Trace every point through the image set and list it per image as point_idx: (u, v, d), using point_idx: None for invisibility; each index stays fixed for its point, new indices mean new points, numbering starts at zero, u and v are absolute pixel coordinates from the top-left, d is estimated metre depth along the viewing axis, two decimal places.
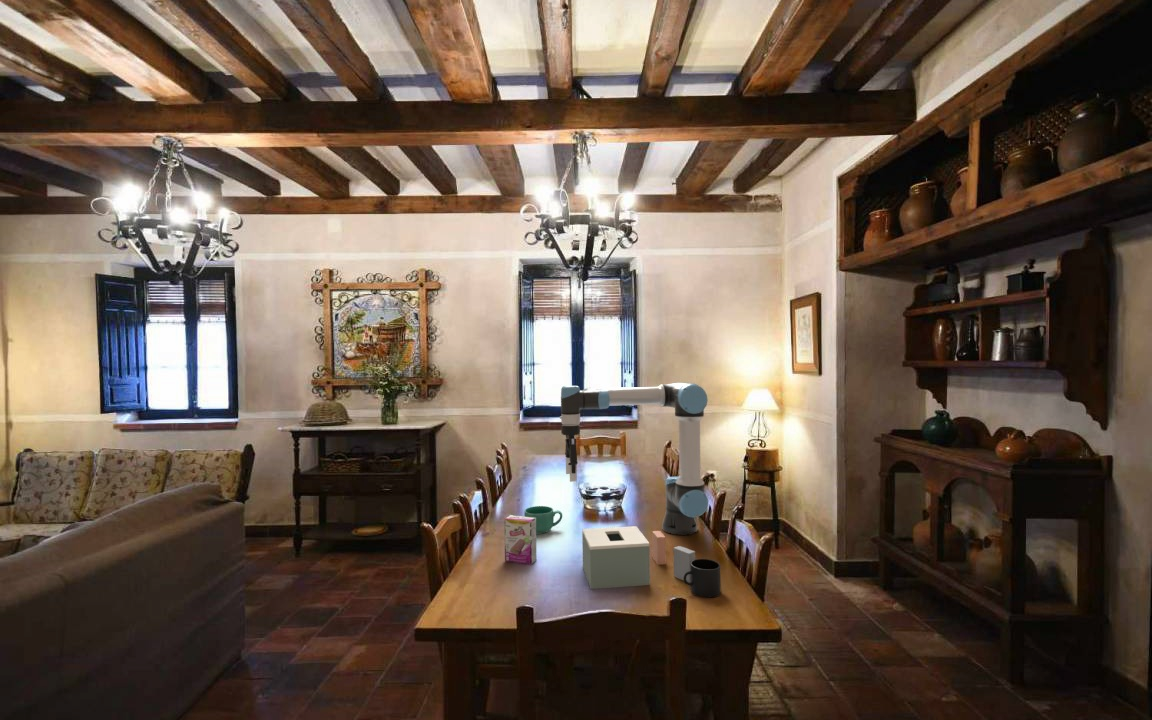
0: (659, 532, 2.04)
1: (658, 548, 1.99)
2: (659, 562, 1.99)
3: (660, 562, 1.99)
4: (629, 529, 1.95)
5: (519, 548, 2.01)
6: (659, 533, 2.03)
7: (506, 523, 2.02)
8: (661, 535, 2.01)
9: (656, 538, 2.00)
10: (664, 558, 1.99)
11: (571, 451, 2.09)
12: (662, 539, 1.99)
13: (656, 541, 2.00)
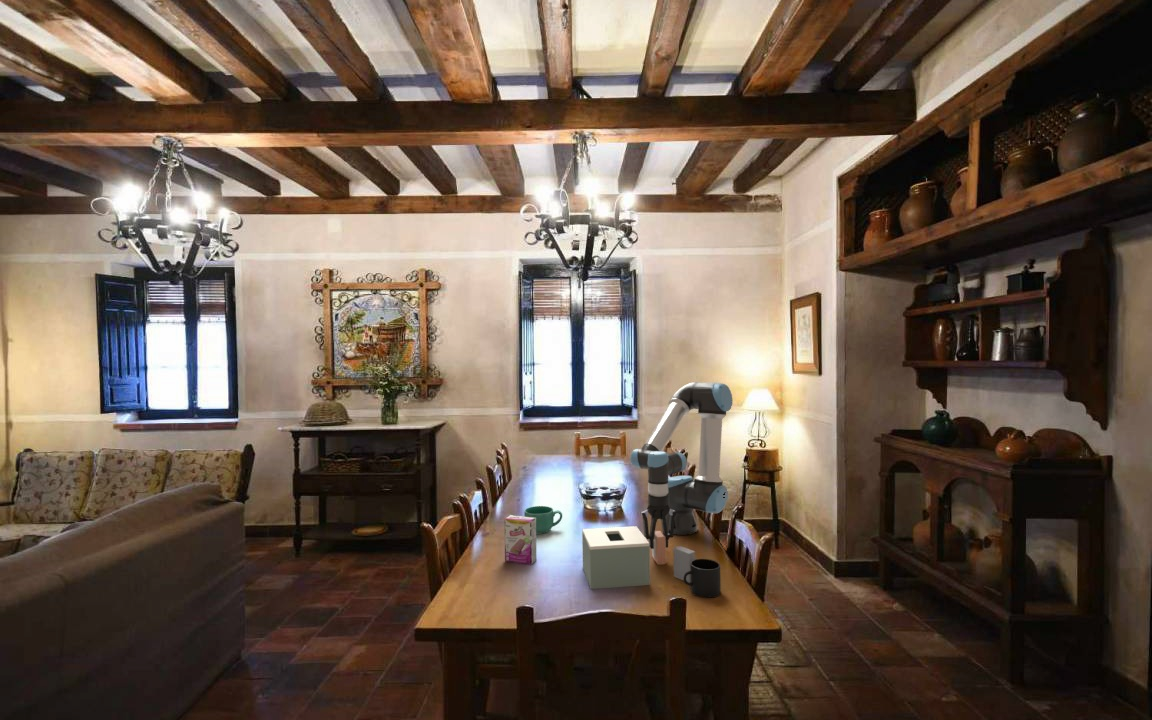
0: (659, 532, 2.04)
1: (658, 548, 1.99)
2: (659, 562, 1.99)
3: (660, 562, 1.99)
4: (629, 529, 1.95)
5: (519, 548, 2.01)
6: (659, 533, 2.03)
7: (506, 523, 2.02)
8: (661, 535, 2.01)
9: (656, 538, 2.00)
10: (664, 558, 1.99)
11: (643, 524, 2.02)
12: (662, 539, 1.99)
13: (656, 541, 2.00)
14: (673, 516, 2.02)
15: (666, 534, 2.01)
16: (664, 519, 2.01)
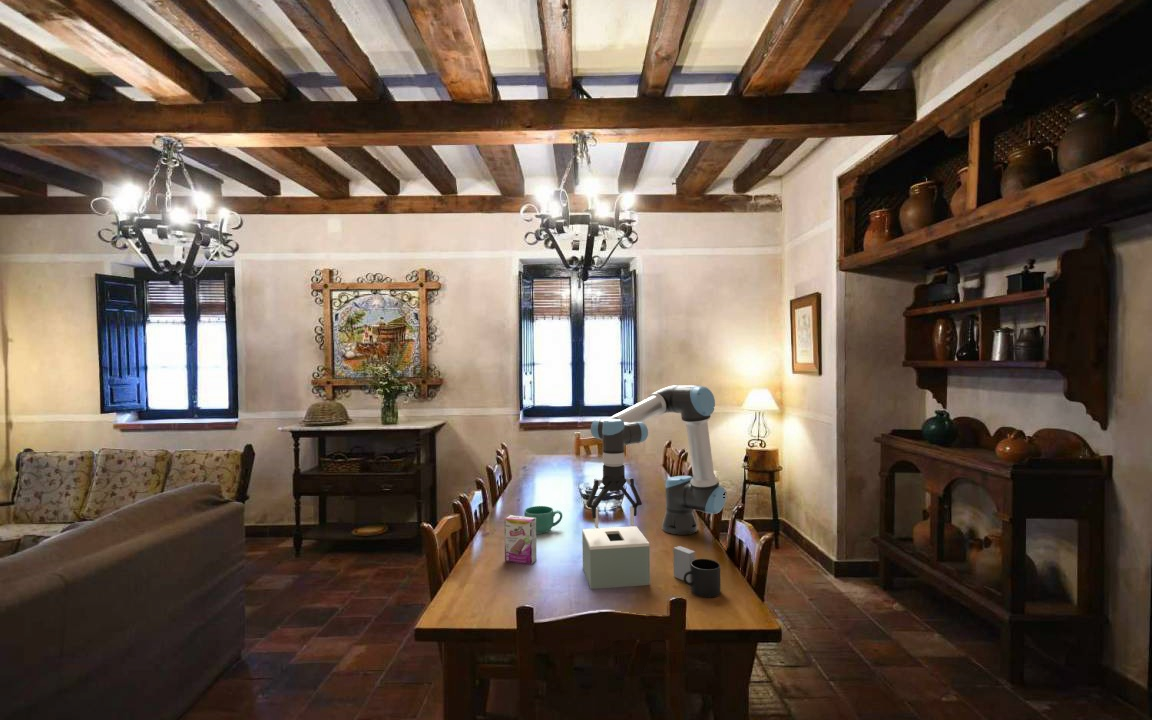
0: None
1: None
2: None
3: None
4: (629, 529, 1.95)
5: (519, 548, 2.01)
6: None
7: (506, 523, 2.02)
8: None
9: None
10: None
11: (591, 492, 1.88)
12: None
13: None
14: (632, 484, 1.88)
15: (633, 502, 1.88)
16: (623, 489, 1.87)
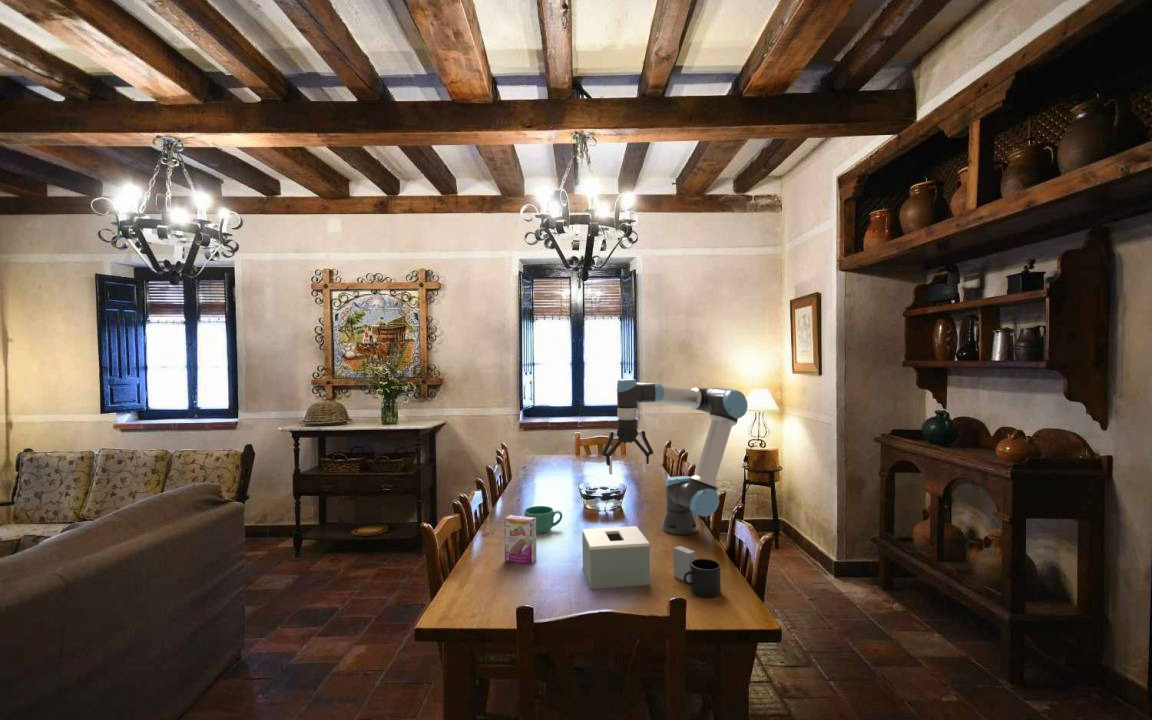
0: None
1: None
2: None
3: None
4: (629, 529, 1.95)
5: (519, 548, 2.01)
6: None
7: (506, 523, 2.02)
8: None
9: None
10: None
11: (606, 443, 2.11)
12: None
13: None
14: (644, 436, 2.11)
15: (645, 451, 2.11)
16: (636, 440, 2.10)
